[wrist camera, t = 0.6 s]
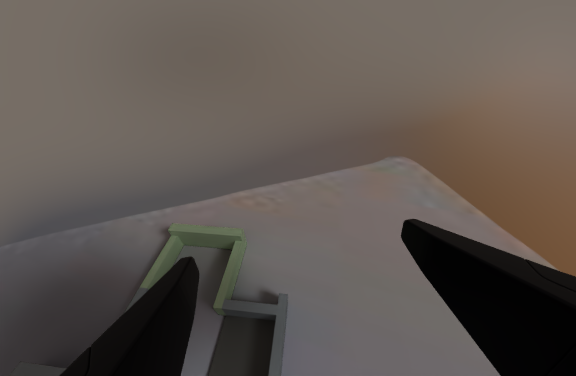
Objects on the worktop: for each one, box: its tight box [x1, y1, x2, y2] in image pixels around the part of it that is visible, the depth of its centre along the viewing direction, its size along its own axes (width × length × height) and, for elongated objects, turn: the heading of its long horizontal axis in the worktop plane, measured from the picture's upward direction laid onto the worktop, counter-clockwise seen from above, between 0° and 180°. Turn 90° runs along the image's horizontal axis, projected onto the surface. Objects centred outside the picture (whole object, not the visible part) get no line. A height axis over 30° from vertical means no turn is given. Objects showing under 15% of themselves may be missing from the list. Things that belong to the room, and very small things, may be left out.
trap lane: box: [9, 223, 288, 376], centre depth 18 cm, size 21×20×3 cm
